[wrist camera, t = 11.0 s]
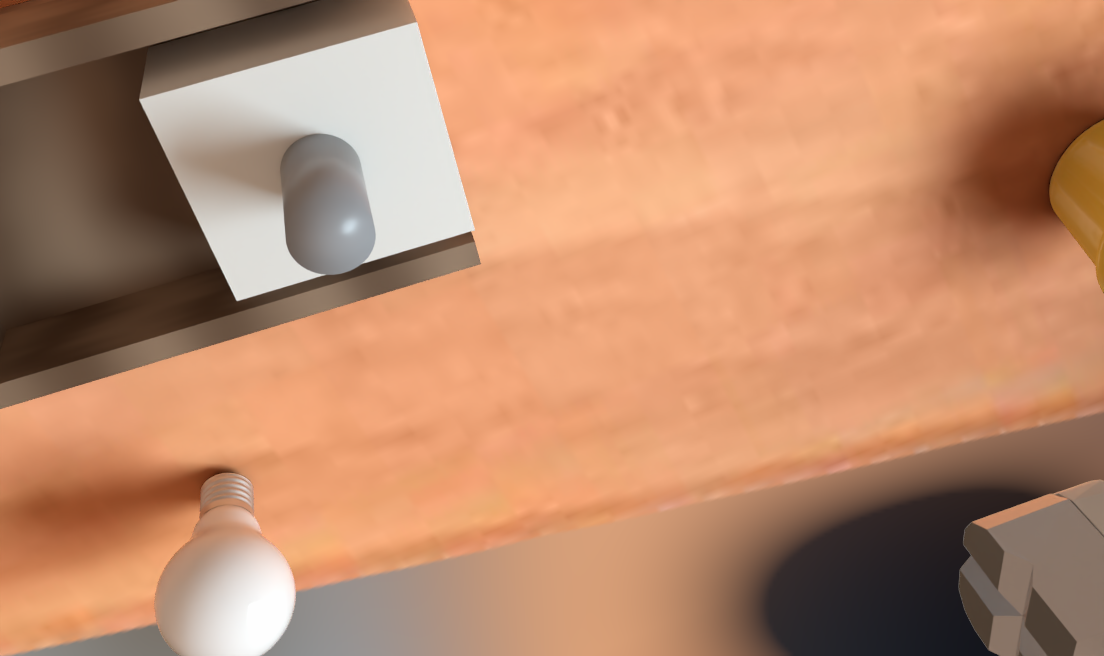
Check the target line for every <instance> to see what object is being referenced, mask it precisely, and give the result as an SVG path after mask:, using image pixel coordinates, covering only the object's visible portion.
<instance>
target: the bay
mask: <svg viewBox="0 0 1104 656" xmlns="http://www.w3.org/2000/svg"><path fill="white" fill-rule="evenodd" d="M315 1H319V0H30V1H27V2H23V3H19V4H15V5H12V6H8V7H4V8H1V9H0V409H2V408H5V407H9V406H12V405H15V404H19V403H22V402H25V401H29V400H32V399H35V398H39V397H42V396H45V395H48V394H52V393H55V392H58V391H62V390H65V389H68V388H72V387H75V386H78V385H82V384H85V383H88V382H92V381H95V380H98V379H101V378H105V377H108V376H111V375H115V374H118V373H121V372H125V371H128V370H131V369H135V368H138V367H141V366H145V365H148V364H151V363H155V362H158V361H161V360H164V359H168V358H171V357H174V356H178V355H181V354H184V353H188V352H191V351H194V350H198V349H201V348H204V347H208V346H211V345H214V344H217V343H221V342H224V341H227V340H231V339H234V338H237V337H241V336H244V335H247V334H251V333H254V332H257V331H261V330H264V329H267V328H270V327H274V326H277V325H280V324H284V323H287V322H290V321H294V320H297V319H300V318H304V317H307V316H310V315H314V314H317V313H320V312H324V311H327V310H330V309H333V308H337V307H340V306H343V305H347V304H350V303H353V302H357V301H360V300H363V299H367V298H370V297H373V296H377V295H380V294H383V293H386V292H390V291H393V290H396V289H400V288H403V287H406V286H410V285H413V284H416V283H420V282H423V281H426V280H430V279H433V278H436V277H440V276H443V275H446V274H449V273H453V272H456V271H459V270H463V269H466V268H469V267H473V266H476V265H479V264H481V263H480V259H479V255H478V252H477V248H476V245H475V241H474V239H473V236H472V233H471V231H470V232H467V233H464V234H460V235H457V236H454V237H450V238H447V239H444V240H440V241H437V242H434V243H430V244H427V245H424V246H420V247H417V248H413V249H410V250H407V251H403V252H400V253H397V254H393V255H390V256H387V257H383V258H380V259H377V260H373V261H370V262H367V263H363V264H361V265H359V266H358V267H356V268H355V269H353V270H351V271H348V272H345V273H341V274H335V275H323V276H320V277H316V278H313V279H310V280H306V281H303V282H300V283H296V284H293V285H290V286H286V287H283V288H280V289H276V290H273V291H270V292H266V293H263V294H259V295H256V296H253V297H249V298H246V299H243V300H239V301H237V300H236V298H235V296H234V294H233V292H232V290H231V288H230V286H229V284H228V282H227V280H226V278H225V276H224V274H223V272H222V270H221V267H220V265H219V263H218V261H217V259H216V257H215V255H214V253H213V251H212V249H211V247H210V245H209V243H208V241H207V239H206V237H205V234H204V232H203V230H202V228H201V226H200V224H199V222H198V220H197V218H196V216H195V214H194V212H193V210H192V208H191V206H190V203H189V201H188V199H187V197H186V195H185V193H184V191H183V189H182V187H181V185H180V183H179V181H178V179H177V177H176V175H175V173H174V170H173V168H172V166H171V164H170V162H169V160H168V158H167V156H166V154H165V152H164V150H163V148H162V146H161V144H160V142H159V140H158V137H157V135H156V133H155V131H154V129H153V127H152V125H151V123H150V121H149V119H148V117H147V115H146V113H145V111H144V109H143V107H142V104H141V102H140V100H139V97H140V92H141V86H142V81H143V75H144V70H145V64H146V59H147V53H148V48H149V47H152V46H155V45H159V44H163V43H166V42H170V41H174V40H177V39H181V38H185V37H188V36H192V35H195V34H199V33H203V32H206V31H210V30H214V29H217V28H221V27H225V26H228V25H232V24H235V23H239V22H243V21H246V20H250V19H254V18H257V17H261V16H264V15H268V14H272V13H275V12H279V11H283V10H286V9H290V8H294V7H297V6H301V5H304V4H308V3H312V2H315Z"/></svg>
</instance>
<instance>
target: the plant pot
mask: <svg viewBox="0 0 1104 656" xmlns="http://www.w3.org/2000/svg"><path fill="white" fill-rule="evenodd" d="M1049 197H1050V202H1051V205H1052V208H1053V210H1054V212H1055V213H1056V215H1057V216H1058V217H1059V219H1060V220H1061V221H1062V223H1063V224H1064V225H1065V226H1066V228H1067V229H1068V230H1069V232H1070V233H1071V234H1072V235H1073V237H1074V238H1075V239H1076V241H1077V242H1078V243H1079V245H1080V246H1081V247H1082V249H1083V250H1084V251H1085V253H1086V254H1087V255H1088V256H1089V258H1090V259H1091V260H1092V262H1093V263H1094V264H1095V266H1096V275H1097V280H1098V283H1099V285H1100V287H1101V289H1102V291H1103V293H1104V120H1102V121H1100V122H1098V123H1096V124H1095V125H1093V126H1091V127H1090V128H1089V129H1087V130H1086V131H1084V132H1083V133H1082V134H1081V135H1080V136H1079V137H1078V138H1076V139H1075V140H1074V141H1073V142H1072V143H1071V145H1070V146H1069V147H1068V148H1067V150H1066V151H1065V152H1064V154H1063V155H1062V157H1061V158H1060V160H1059V161H1058V163H1057V165H1056V167H1055V169H1054V172H1053V174H1052V177H1051V181H1050V187H1049Z"/></svg>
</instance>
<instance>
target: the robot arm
mask: <svg viewBox="0 0 1104 656" xmlns="http://www.w3.org/2000/svg"><path fill="white" fill-rule="evenodd" d="M963 545H964V546H965V547H966V549H967V550H968V551H969V553H970V554H971V557H970V558H969V559H968V560H967V561H966V562H965V564H964V565H963V566H962V567H961V569H960V576H959V591H960V595H961V598H962V602H963V605H964V609H965V612H966V614H967V616H968V618H969V620H970V621H971V624H972V626H973V627H974V629H975V631H976V632H977V634H978V635H979V637H980V638H981V640H982V641H983V643H984V644H985V645H986V647H987V648H988V650H990V651H992V652H994V653H996V654H998V655H1000V656H1104V481H1103V480H1092V481H1089V482H1086V483H1083V484H1080V485H1077V486H1074V487H1072V488H1069V489H1066V490H1063V491H1060V492H1057V493H1055V494H1049V495H1046V496H1043V497H1040V498H1037V499H1034V500H1032V501H1029V502H1026V503H1023V504H1021V505H1018V506H1015V507H1012V508H1009V509H1007V510H1004V511H1001V512H998V513H996V514H993V515H990V516H987V517H984V518H982V519H979V520H976V521H973V522H971V523H970V524H969V525H968V526H967V527H966V528H965V533H964V540H963Z"/></svg>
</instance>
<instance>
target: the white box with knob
mask: <svg viewBox="0 0 1104 656" xmlns="http://www.w3.org/2000/svg"><path fill="white" fill-rule="evenodd" d="M139 100H140V102H141V104H142V107H143V109H144V111H145V113H146V115H147V117H148V119H149V121H150V123H151V125H152V127H153V129H154V131H155V133H156V135H157V137H158V140H159V142H160V144H161V146H162V148H163V150H164V152H165V154H166V156H167V158H168V160H169V162H170V164H171V166H172V168H173V170H174V173H175V175H176V177H177V179H178V181H179V183H180V185H181V187H182V189H183V191H184V193H185V195H186V197H187V199H188V201H189V203H190V206H191V208H192V210H193V212H194V214H195V216H196V218H197V220H198V222H199V224H200V226H201V228H202V230H203V232H204V234H205V237H206V239H207V241H208V243H209V245H210V247H211V249H212V251H213V253H214V255H215V257H216V259H217V261H218V263H219V265H220V267H221V270H222V272H223V274H224V276H225V278H226V280H227V282H228V284H229V286H230V288H231V290H232V292H233V294H234V296H235V298H236V300H237V301H239V300H243V299H246V298H249V297H253V296H256V295H259V294H263V293H266V292H270V291H273V290H276V289H280V288H283V287H286V286H290V285H293V284H296V283H300V282H303V281H306V280H310V279H313V278H316V277H320V276H323V275H335V274H341V273H345V272H348V271H351V270H353V269H355V268H356V267H358V266H359V265H361V264H363V263H367V262H370V261H373V260H377V259H380V258H383V257H387V256H390V255H393V254H397V253H400V252H403V251H407V250H410V249H413V248H417V247H420V246H424V245H427V244H430V243H434V242H437V241H440V240H444V239H447V238H450V237H454V236H457V235H460V234H464V233H467V232H470V231H474V230H475V229H474V225H473V221H472V218H471V214H470V211H469V207H468V204H467V200H466V196H465V193H464V189H463V186H462V182H461V178H460V175H459V171H458V168H457V164H456V160H455V157H454V153H453V150H452V146H451V142H450V139H449V135H448V132H447V128H446V125H445V121H444V117H443V114H442V110H441V107H440V103H439V99H438V96H437V92H436V89H435V85H434V81H433V78H432V74H431V71H430V67H429V63H428V60H427V56H426V53H425V49H424V46H423V42H422V38H421V35H420V31H419V28H418V24H417V21H416V18H415V16H414V14H413V11H412V9H411V6H410V4H409V2H408V0H319V1H315V2H312V3H308V4H304V5H301V6H297V7H294V8H290V9H286V10H283V11H279V12H275V13H272V14H268V15H264V16H261V17H257V18H254V19H250V20H246V21H243V22H239V23H235V24H232V25H228V26H225V27H221V28H217V29H214V30H210V31H206V32H203V33H199V34H195V35H192V36H188V37H185V38H181V39H177V40H174V41H170V42H166V43H163V44H159V45H155V46H152V47H149V48H148V53H147V59H146V64H145V70H144V75H143V81H142V86H141V92H140V97H139Z"/></svg>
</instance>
